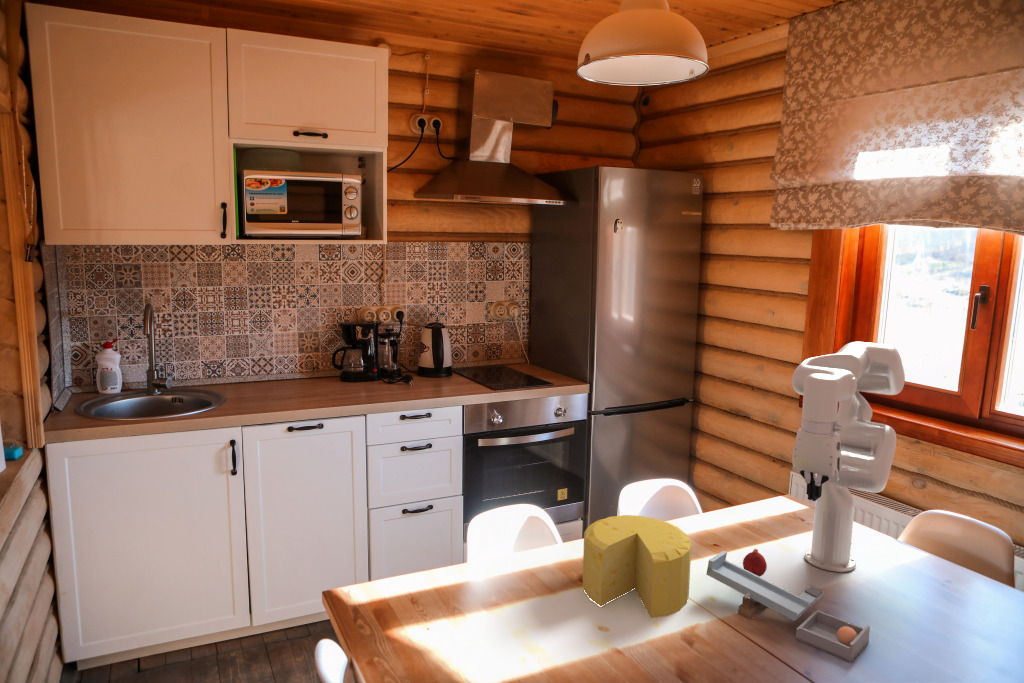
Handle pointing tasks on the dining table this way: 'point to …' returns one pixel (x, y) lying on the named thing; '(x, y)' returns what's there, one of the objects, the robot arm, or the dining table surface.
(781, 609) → the lever
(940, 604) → the dining table surface
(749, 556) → the onion
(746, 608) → the fulcrum
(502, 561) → the dining table surface
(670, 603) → the cheese
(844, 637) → the ball
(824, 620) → the dish
